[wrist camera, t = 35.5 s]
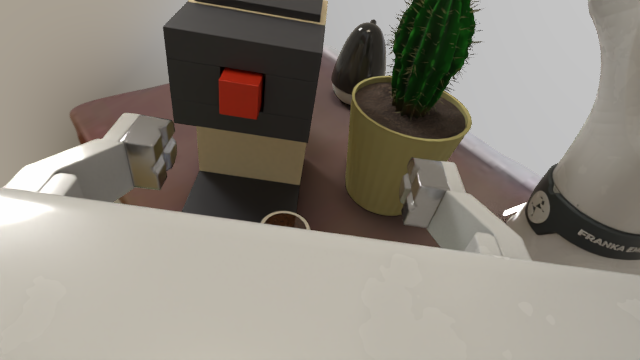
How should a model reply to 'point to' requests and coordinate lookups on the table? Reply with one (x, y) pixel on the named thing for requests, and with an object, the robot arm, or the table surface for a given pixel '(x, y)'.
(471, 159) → the table surface
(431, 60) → the potted cactus
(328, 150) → the table surface
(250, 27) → the coffee maker
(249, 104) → the power button
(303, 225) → the coffee cup
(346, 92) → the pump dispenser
